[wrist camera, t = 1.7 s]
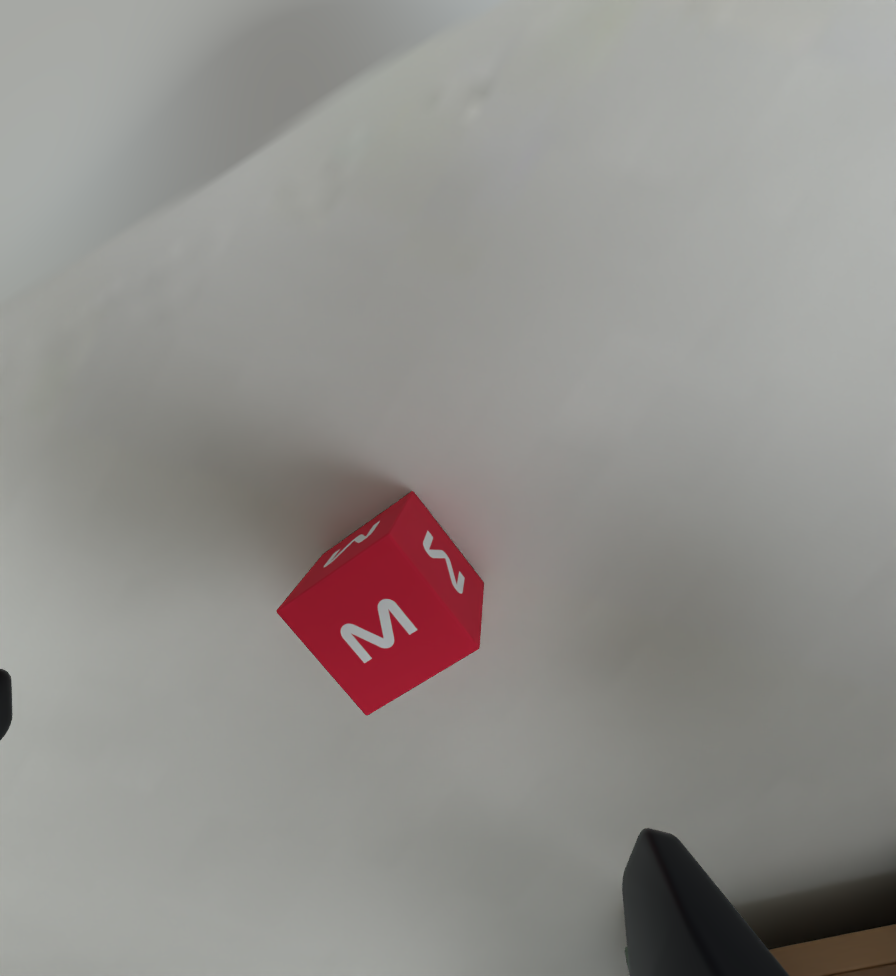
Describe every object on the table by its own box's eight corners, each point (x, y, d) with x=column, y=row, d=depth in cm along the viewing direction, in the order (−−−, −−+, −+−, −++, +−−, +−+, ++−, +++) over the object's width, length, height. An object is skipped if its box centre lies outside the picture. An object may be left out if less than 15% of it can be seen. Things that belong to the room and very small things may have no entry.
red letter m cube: (412, 490, 13) (388, 532, 10) (484, 582, 14) (480, 648, 11) (321, 554, 14) (275, 611, 11) (393, 640, 14) (366, 717, 11)
